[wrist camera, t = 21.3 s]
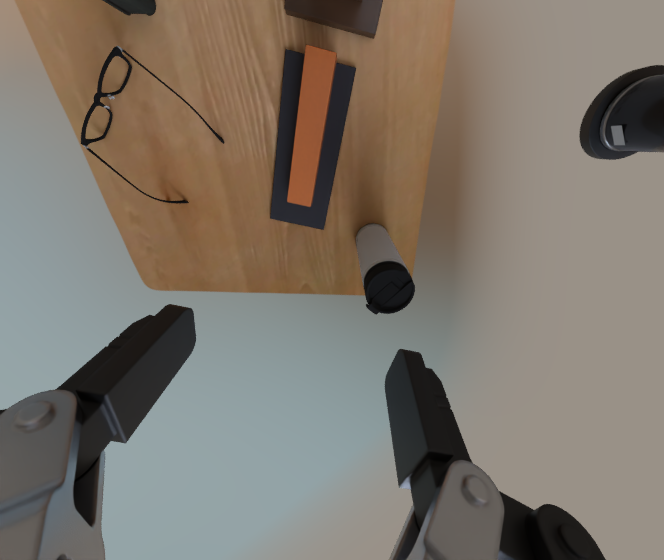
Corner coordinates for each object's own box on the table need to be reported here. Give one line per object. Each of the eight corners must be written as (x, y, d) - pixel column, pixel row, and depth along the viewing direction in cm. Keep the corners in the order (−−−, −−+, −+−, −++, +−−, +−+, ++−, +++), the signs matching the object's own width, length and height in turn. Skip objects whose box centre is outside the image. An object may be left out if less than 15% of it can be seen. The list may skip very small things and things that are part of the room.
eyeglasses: (132, 45, 35) (109, 35, 31) (230, 133, 40) (220, 132, 36) (95, 145, 41) (73, 145, 37) (184, 210, 46) (171, 216, 42)
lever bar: (308, 51, 34) (305, 44, 31) (336, 59, 34) (336, 52, 32) (289, 198, 44) (286, 201, 41) (312, 203, 44) (310, 207, 41)
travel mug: (347, 241, 48) (352, 297, 30) (372, 216, 45) (393, 262, 28) (370, 261, 50) (386, 325, 32) (395, 238, 47) (428, 294, 30)
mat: (286, 50, 35) (285, 48, 34) (355, 68, 35) (356, 67, 35) (271, 217, 46) (270, 218, 45) (323, 228, 47) (323, 229, 46)
